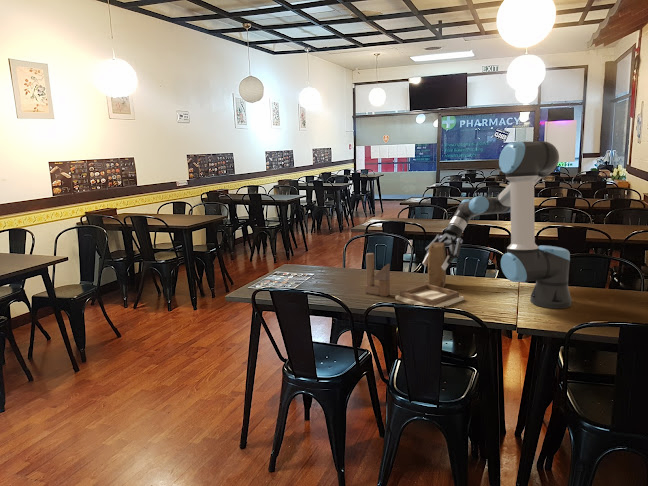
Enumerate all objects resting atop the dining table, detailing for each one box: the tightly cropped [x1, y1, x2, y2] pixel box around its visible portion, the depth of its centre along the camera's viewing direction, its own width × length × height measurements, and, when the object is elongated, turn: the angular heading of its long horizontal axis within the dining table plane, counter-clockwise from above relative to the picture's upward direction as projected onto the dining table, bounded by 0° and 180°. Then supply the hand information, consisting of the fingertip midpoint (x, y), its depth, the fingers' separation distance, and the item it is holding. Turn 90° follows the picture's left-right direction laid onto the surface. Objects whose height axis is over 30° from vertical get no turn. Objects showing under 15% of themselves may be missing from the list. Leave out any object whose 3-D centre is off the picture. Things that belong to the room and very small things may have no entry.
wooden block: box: [364, 252, 391, 297], centre depth 215 cm, size 4×11×18 cm, turn 56°
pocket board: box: [395, 283, 465, 308], centre depth 206 cm, size 20×20×4 cm
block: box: [427, 242, 447, 288], centre depth 225 cm, size 11×8×20 cm
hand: (433, 266), depth 223 cm, fingers closed on block, 10 cm apart
